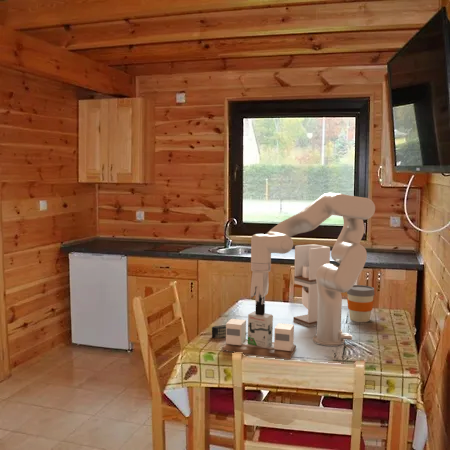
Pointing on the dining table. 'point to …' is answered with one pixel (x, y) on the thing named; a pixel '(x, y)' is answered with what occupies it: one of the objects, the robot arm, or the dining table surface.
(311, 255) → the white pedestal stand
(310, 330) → the dining table surface
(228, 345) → the rail board
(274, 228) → the robot arm
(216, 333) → the mobile phone
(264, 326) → the ink box
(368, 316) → the reusable coffee cup
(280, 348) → the mounted modules
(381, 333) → the dining table surface
